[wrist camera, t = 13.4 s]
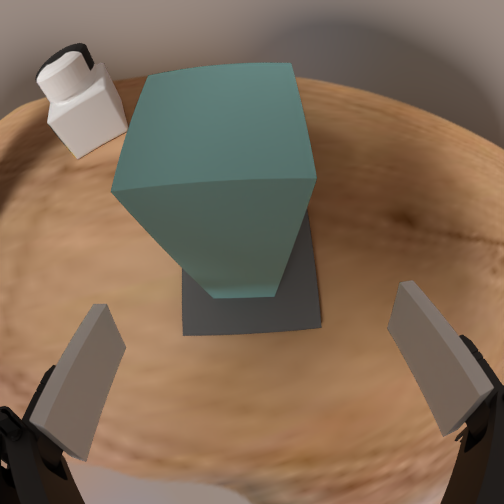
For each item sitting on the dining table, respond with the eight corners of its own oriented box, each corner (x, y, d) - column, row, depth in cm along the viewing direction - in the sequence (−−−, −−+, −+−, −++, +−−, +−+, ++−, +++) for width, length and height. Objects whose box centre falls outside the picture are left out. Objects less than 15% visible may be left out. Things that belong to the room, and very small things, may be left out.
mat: (184, 335, 19) (182, 335, 19) (185, 212, 22) (184, 209, 22) (320, 327, 19) (321, 327, 19) (305, 205, 22) (305, 202, 22)
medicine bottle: (75, 126, 27) (34, 64, 16) (121, 100, 28) (89, 29, 16) (77, 161, 25) (22, 92, 14) (129, 131, 26) (88, 48, 14)
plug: (213, 298, 20) (110, 191, 5) (214, 241, 21) (148, 75, 7) (274, 296, 20) (316, 178, 5) (271, 239, 21) (291, 63, 7)
